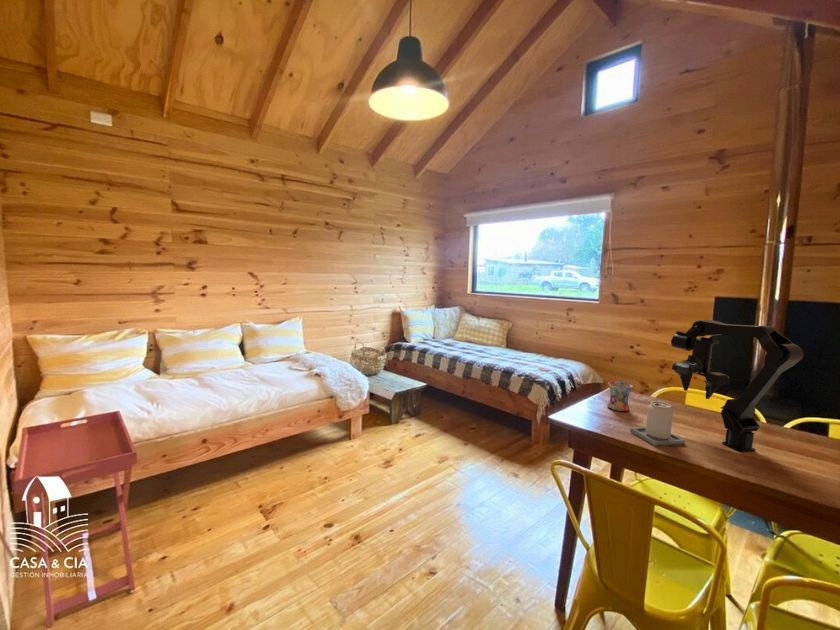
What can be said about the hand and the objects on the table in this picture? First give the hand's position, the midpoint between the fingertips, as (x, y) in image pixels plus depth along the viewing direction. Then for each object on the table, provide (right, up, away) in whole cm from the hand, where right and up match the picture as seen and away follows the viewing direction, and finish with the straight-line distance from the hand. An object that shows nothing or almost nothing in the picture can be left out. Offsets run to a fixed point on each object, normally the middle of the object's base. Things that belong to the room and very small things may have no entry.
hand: (696, 394), depth 144 cm
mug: (-18, -10, +20) cm, 29 cm away
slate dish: (-20, -14, -8) cm, 25 cm away
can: (-20, -13, -8) cm, 25 cm away
